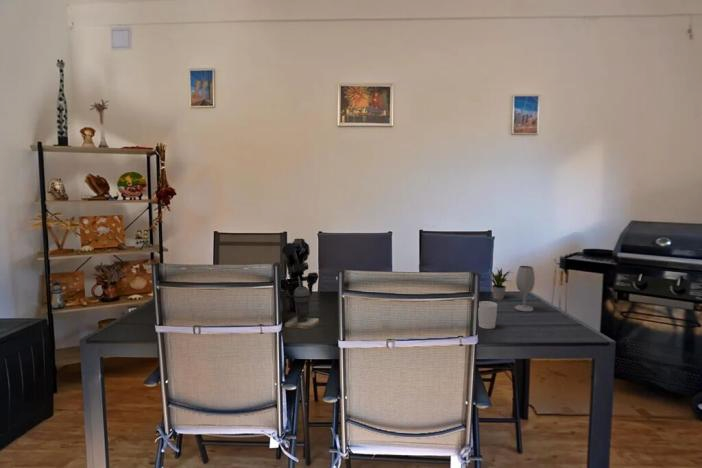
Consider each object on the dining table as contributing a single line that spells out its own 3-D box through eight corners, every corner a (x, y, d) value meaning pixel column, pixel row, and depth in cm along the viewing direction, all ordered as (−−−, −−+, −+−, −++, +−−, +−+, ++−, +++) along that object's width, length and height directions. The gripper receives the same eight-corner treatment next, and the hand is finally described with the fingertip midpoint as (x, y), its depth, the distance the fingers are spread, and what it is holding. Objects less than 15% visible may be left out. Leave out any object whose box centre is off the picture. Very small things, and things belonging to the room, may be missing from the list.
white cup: (486, 330, 185) (487, 307, 184) (473, 325, 192) (474, 302, 191) (500, 327, 189) (501, 304, 188) (487, 322, 196) (487, 300, 195)
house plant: (518, 302, 227) (519, 270, 225) (491, 302, 227) (492, 270, 225) (508, 294, 241) (510, 265, 239) (483, 295, 241) (484, 265, 239)
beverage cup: (307, 323, 190) (306, 278, 188) (291, 322, 192) (290, 277, 190) (312, 318, 198) (311, 274, 195) (297, 317, 199) (296, 273, 197)
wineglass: (514, 311, 212) (515, 267, 209) (514, 306, 220) (516, 264, 217) (533, 313, 209) (535, 269, 206) (533, 307, 217) (535, 265, 214)
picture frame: (285, 326, 192) (284, 323, 192) (294, 319, 201) (294, 316, 201) (311, 329, 189) (311, 325, 188) (319, 321, 198) (319, 318, 198)
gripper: (276, 258, 193) (283, 288, 185) (316, 254, 201) (325, 284, 192) (272, 272, 201) (279, 302, 193) (311, 268, 209) (319, 297, 200)
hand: (301, 296), depth 194 cm, fingers open, 9 cm apart
